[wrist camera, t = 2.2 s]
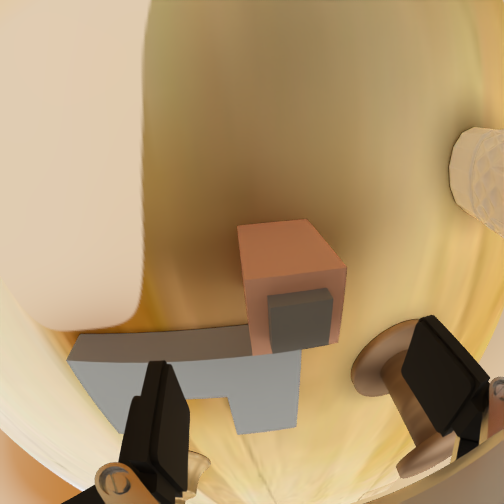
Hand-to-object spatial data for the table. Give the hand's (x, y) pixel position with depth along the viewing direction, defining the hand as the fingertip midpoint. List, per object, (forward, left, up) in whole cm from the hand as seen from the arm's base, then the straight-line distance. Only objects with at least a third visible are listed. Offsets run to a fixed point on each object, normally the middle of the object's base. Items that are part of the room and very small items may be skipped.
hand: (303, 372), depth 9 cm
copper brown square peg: (-1, 0, -8) cm, 8 cm away
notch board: (+9, -7, -8) cm, 14 cm away
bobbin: (+11, +11, -8) cm, 18 cm away
